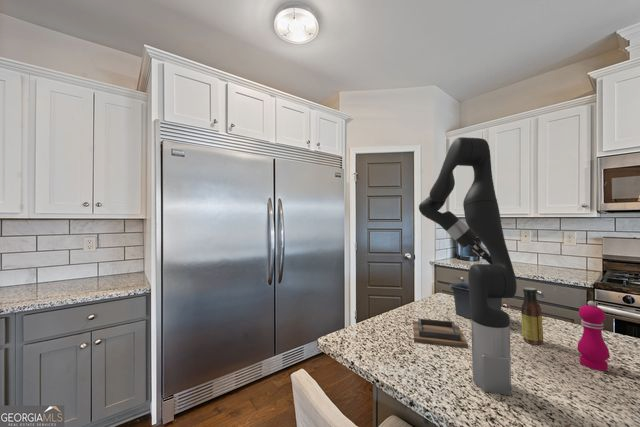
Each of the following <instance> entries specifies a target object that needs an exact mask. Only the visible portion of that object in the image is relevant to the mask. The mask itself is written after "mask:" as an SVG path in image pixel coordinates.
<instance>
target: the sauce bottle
mask: <svg viewBox="0 0 640 427" xmlns="http://www.w3.org/2000/svg"><path fill="white" fill-rule="evenodd" d="M522 290H523V303H522V305H521V309H520V316H521V332H522V335H521V336H522V338H523V341H524V342H526V343H528V344H529V345H536V346H540V345H543V344H544V328H543V314H542V308H541V305H540V304H539V302H538V301H537V300H538V298H537V293H538V291H537V288H535V287H528V286H527V287H525V286H524V287H523V288H522Z"/></svg>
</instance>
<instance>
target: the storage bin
mask: <svg viewBox="0 0 640 427" xmlns="http://www.w3.org/2000/svg"><path fill="white" fill-rule="evenodd" d="M449 286H450V290H451V291H453V292H452V293H453V300H454V309H455V313H456V315H457V316H461V317H464V318H467V319H471V309H470V294H469V283H468V282H467V281H466V282H465V281H464V282H463V281H461V282H456V283H450V284H449ZM502 300H503V298H487V301H488V305H490V306H492V307H495V308H498V309H500V310H502V303H503V301H502Z"/></svg>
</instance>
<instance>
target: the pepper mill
mask: <svg viewBox="0 0 640 427" xmlns="http://www.w3.org/2000/svg"><path fill="white" fill-rule="evenodd" d="M578 316H579V317H580V318H581V320H580V324H581V326H582V327H583V332H582V336H581V337H580V339H579V340H578V341H577V345H576V346H577V347H576V348H577V351H578V353H579V354H580V355H579V363H580V364H581V365H582V366H584V367H587V368H589V369H592V370H597V371H608V369H609V366H608V362H607V360H608V359H609V358H610V350H609V348H608V346H607V344H606V342H605V340H604V338H603V335H602V333H603V332H602V330H603V329H604V323H603V322H604V321H605V320H606V317H607V316H606V314H605V312H604V311H603V309H602V308H600V307H598V306H596V302H595V301H594V300H589V301H587V304H585V305H581V307H579V310H578Z"/></svg>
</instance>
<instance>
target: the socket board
mask: <svg viewBox="0 0 640 427" xmlns="http://www.w3.org/2000/svg"><path fill="white" fill-rule="evenodd" d="M412 326H413V342H414V343H420V344H421V343H422V344H430V345H437V346H444V347H445V346H448V347H453V348H454V347H456V348H464V349H468V342H467V340H466V338H465V336H464V334H463V332H462V330H461V328H460V326H459V325H458V324H456V323H455V321H452V320H451V321H450V320H439V319H430V318H429V319H428V318H417V321H416V320H412Z"/></svg>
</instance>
